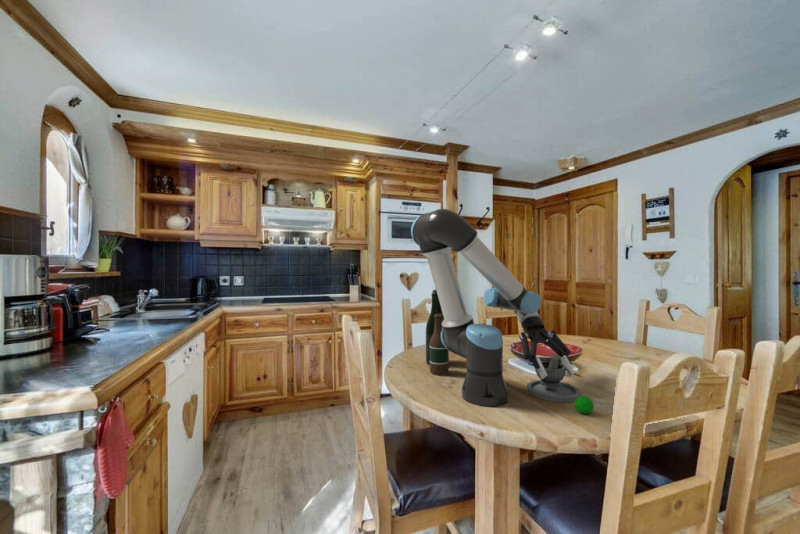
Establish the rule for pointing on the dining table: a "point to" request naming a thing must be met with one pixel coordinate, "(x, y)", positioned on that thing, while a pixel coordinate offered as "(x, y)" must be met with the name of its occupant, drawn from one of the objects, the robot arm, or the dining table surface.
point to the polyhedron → (584, 404)
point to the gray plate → (554, 392)
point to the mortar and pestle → (552, 372)
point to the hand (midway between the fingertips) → (558, 375)
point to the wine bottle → (432, 323)
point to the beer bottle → (438, 350)
